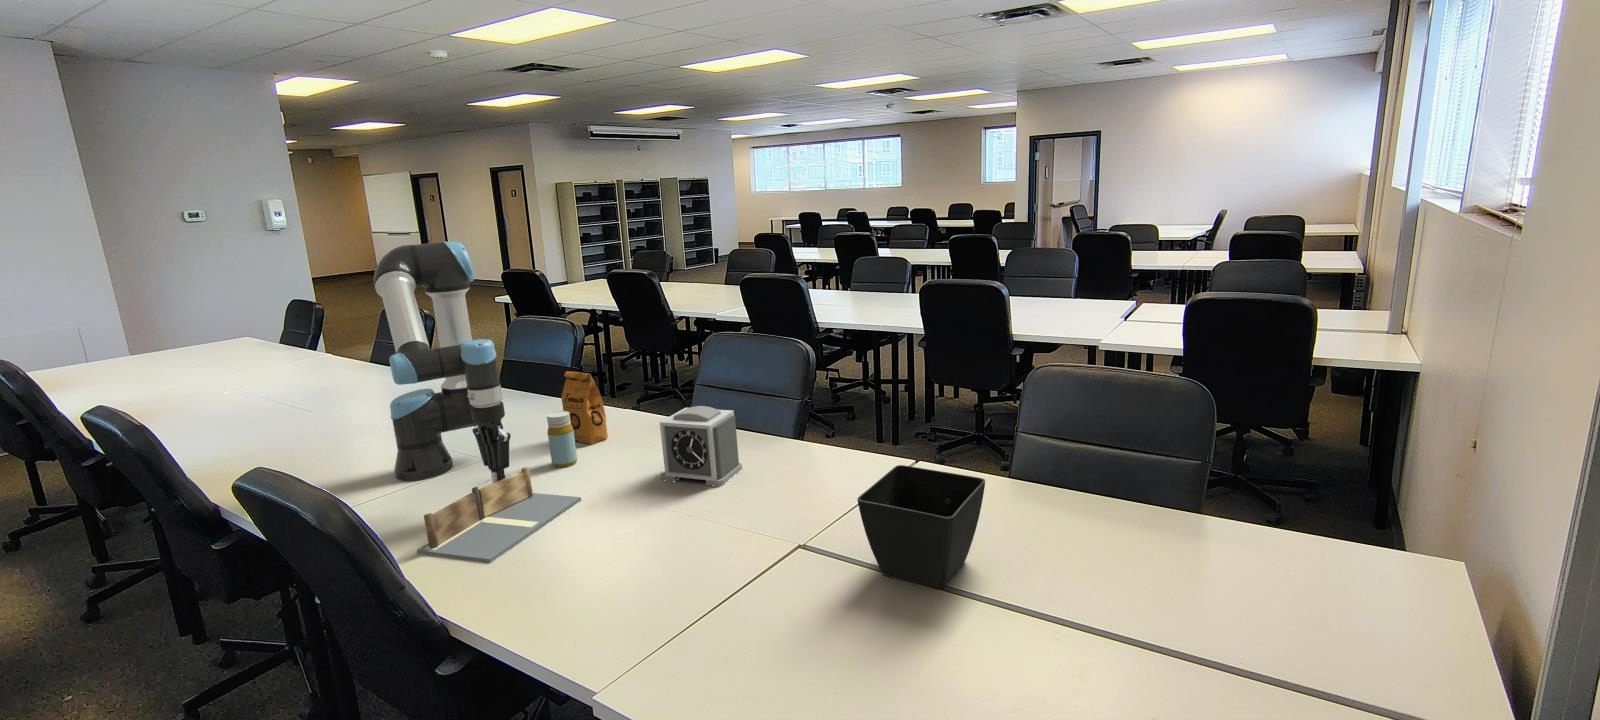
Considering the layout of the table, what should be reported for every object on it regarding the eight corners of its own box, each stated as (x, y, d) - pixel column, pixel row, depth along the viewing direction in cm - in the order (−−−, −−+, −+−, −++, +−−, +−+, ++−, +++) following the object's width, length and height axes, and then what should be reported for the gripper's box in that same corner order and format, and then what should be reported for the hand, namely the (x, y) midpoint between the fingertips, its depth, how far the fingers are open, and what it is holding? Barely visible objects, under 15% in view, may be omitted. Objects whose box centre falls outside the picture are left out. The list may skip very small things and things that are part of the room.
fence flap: (485, 517, 181) (480, 488, 179) (480, 516, 182) (476, 487, 180) (534, 494, 193) (530, 467, 191) (529, 493, 194) (525, 466, 192)
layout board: (490, 562, 160) (489, 558, 160) (417, 553, 167) (416, 549, 166) (581, 500, 191) (580, 496, 190) (516, 494, 197) (515, 491, 197)
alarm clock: (660, 480, 200) (653, 414, 196) (685, 463, 212) (679, 400, 208) (721, 487, 193) (715, 419, 189) (744, 468, 205) (738, 404, 201)
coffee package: (588, 447, 231) (579, 377, 226) (562, 441, 238) (553, 374, 233) (613, 437, 239) (605, 370, 234) (588, 432, 246) (579, 366, 241)
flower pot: (952, 604, 134) (951, 516, 130) (858, 580, 144) (854, 498, 140) (987, 557, 150) (987, 478, 146) (900, 538, 160) (897, 464, 156)
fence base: (434, 549, 166) (428, 515, 164) (427, 548, 167) (421, 515, 165) (485, 518, 181) (480, 487, 179) (479, 517, 182) (474, 486, 180)
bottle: (570, 468, 214) (563, 417, 210) (547, 468, 215) (540, 417, 212) (581, 459, 220) (575, 410, 217) (560, 459, 222) (553, 410, 218)
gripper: (457, 404, 184) (472, 494, 189) (487, 411, 176) (502, 504, 182) (485, 396, 190) (499, 483, 195) (515, 402, 182) (529, 493, 188)
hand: (501, 493), depth 188 cm, fingers closed
